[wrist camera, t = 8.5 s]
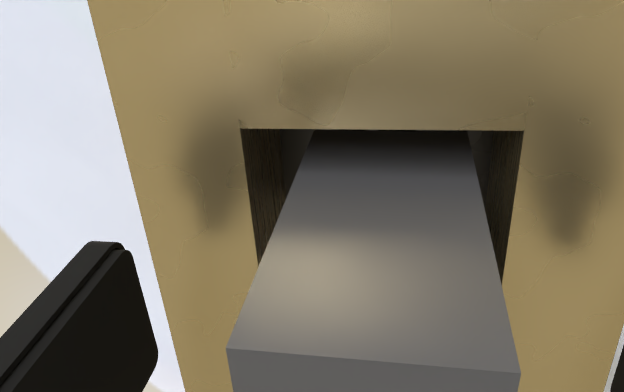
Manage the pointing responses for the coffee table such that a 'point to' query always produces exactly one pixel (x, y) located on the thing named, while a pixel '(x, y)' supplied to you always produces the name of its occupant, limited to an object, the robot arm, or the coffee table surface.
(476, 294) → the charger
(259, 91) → the socket plate
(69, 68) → the coffee table surface
